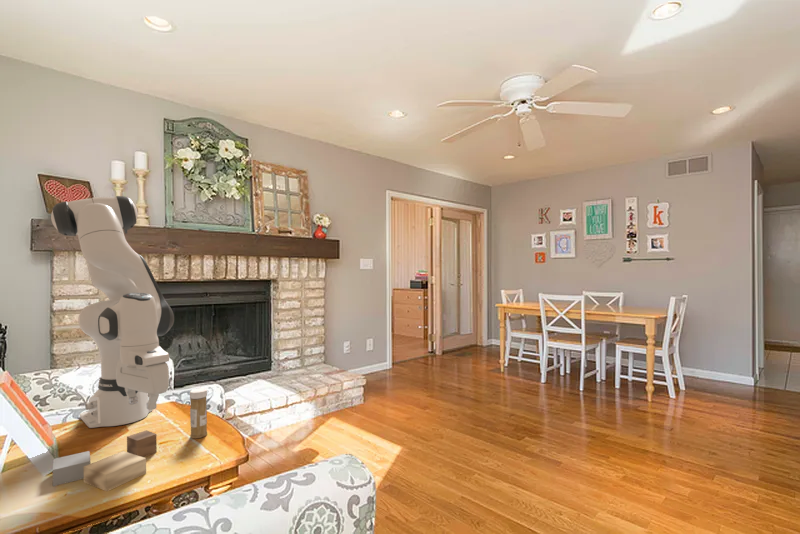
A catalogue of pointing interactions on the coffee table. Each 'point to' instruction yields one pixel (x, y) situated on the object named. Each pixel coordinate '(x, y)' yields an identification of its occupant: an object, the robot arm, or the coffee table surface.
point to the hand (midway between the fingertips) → (142, 406)
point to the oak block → (114, 470)
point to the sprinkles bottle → (198, 413)
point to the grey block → (70, 467)
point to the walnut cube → (142, 443)
